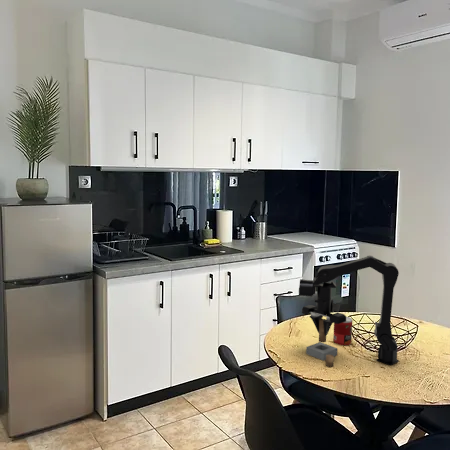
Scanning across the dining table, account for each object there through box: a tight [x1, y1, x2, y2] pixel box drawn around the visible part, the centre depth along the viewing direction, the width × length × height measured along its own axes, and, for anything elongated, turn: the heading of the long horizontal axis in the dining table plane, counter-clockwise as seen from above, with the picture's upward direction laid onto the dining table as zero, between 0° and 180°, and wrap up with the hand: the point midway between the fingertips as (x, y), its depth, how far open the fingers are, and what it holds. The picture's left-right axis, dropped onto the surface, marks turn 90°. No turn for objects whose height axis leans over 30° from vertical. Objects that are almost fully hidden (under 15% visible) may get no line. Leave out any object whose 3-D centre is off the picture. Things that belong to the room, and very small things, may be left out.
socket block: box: [305, 341, 338, 362], centre depth 196 cm, size 9×9×3 cm
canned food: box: [332, 316, 353, 346], centre depth 210 cm, size 8×8×11 cm
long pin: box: [318, 318, 327, 343], centre depth 195 cm, size 3×3×9 cm
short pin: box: [325, 355, 335, 368], centre depth 185 cm, size 3×3×4 cm
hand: (322, 334), depth 195 cm, fingers closed on long pin, 3 cm apart
